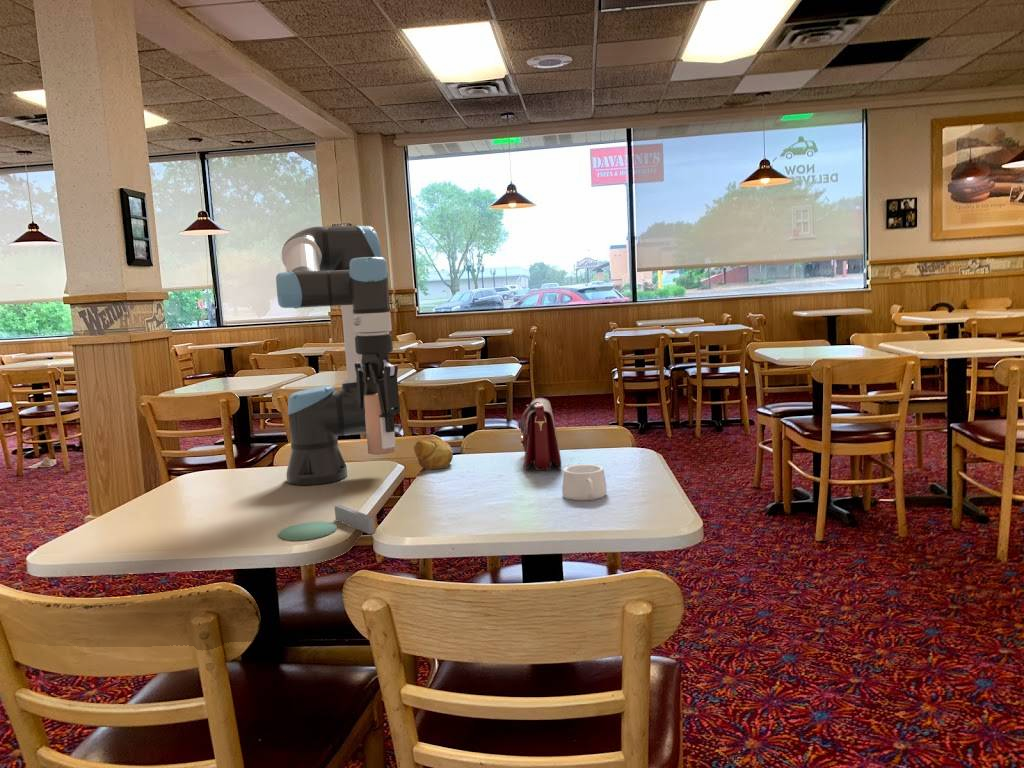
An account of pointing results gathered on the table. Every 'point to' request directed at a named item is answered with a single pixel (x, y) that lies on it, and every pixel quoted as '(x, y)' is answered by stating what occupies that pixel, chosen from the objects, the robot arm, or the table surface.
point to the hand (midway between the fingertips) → (381, 445)
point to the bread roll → (433, 453)
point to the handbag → (540, 435)
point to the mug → (584, 482)
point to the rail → (355, 519)
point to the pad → (307, 530)
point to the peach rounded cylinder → (374, 425)
